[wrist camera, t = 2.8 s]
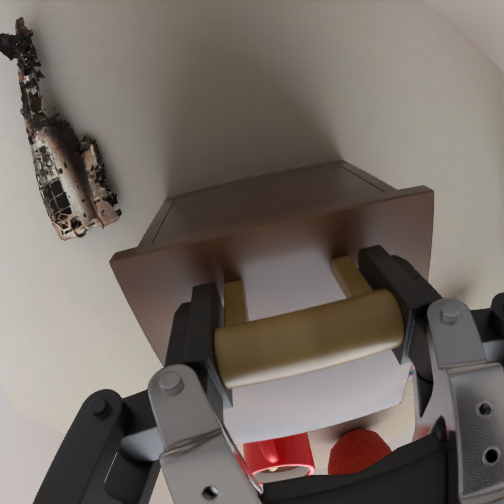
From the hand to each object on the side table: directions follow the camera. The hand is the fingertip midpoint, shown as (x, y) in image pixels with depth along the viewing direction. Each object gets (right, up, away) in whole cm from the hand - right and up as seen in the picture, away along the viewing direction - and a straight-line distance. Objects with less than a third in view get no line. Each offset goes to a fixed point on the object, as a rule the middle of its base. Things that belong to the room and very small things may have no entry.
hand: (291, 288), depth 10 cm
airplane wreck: (-14, +11, +6) cm, 19 cm away
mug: (+1, -19, +23) cm, 29 cm away
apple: (+14, -27, +28) cm, 41 cm away
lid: (+1, -4, +4) cm, 5 cm away
